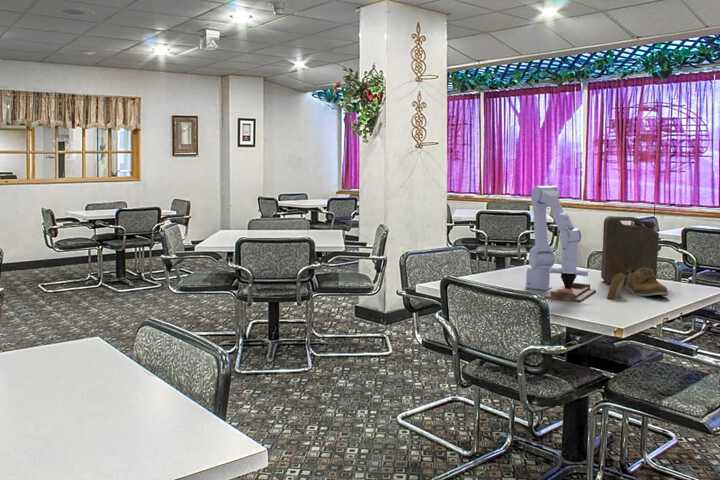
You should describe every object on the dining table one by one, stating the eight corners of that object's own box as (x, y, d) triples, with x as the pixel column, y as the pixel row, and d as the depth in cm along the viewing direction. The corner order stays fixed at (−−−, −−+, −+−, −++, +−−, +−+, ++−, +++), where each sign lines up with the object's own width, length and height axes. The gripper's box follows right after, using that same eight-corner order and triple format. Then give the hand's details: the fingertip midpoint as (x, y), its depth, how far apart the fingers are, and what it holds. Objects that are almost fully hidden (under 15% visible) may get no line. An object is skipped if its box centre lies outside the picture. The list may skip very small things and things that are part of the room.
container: (604, 284, 298) (607, 217, 295) (599, 280, 308) (602, 215, 305) (657, 285, 295) (661, 218, 291) (650, 281, 305) (654, 216, 301)
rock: (615, 295, 261) (634, 290, 265) (604, 276, 264) (623, 271, 268) (600, 306, 269) (618, 301, 274) (589, 288, 273) (607, 283, 277)
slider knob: (557, 295, 264) (557, 289, 264) (560, 293, 267) (560, 287, 267) (569, 297, 261) (570, 290, 261) (572, 295, 264) (572, 289, 264)
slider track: (544, 298, 265) (544, 290, 264) (562, 288, 287) (562, 281, 286) (580, 302, 257) (580, 294, 257) (595, 291, 279) (596, 284, 279)
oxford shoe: (617, 287, 291) (619, 262, 290) (640, 288, 291) (641, 262, 290) (648, 300, 263) (650, 272, 262) (673, 300, 264) (675, 272, 262)
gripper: (548, 258, 267) (547, 291, 268) (585, 261, 259) (583, 295, 260) (553, 256, 273) (552, 289, 274) (589, 259, 265) (588, 293, 266)
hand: (567, 292), depth 268 cm, fingers closed
